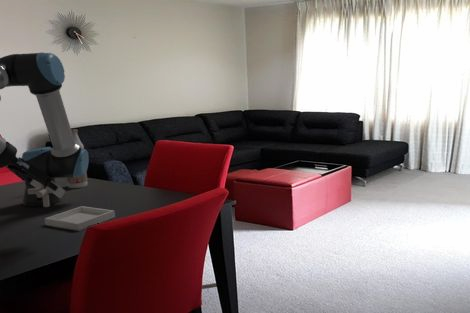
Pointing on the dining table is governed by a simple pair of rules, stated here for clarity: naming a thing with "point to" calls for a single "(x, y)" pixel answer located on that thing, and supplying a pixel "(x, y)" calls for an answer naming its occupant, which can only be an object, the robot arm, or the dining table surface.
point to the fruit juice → (77, 181)
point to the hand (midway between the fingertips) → (55, 192)
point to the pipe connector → (41, 194)
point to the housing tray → (79, 218)
